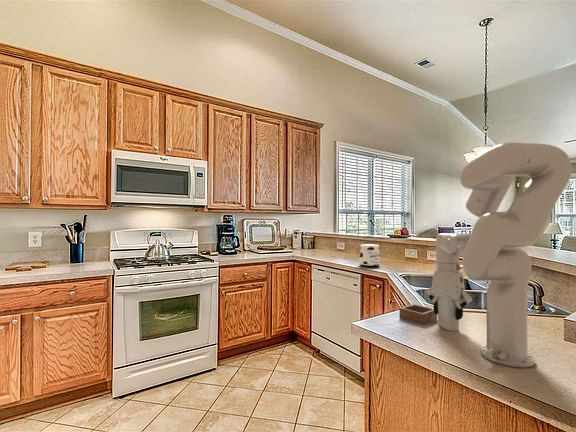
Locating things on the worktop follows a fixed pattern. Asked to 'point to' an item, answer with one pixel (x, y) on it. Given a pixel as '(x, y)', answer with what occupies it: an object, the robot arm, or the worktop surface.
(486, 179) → the robot arm
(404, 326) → the worktop surface
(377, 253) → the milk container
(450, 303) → the skincare box
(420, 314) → the brown wooden tray
